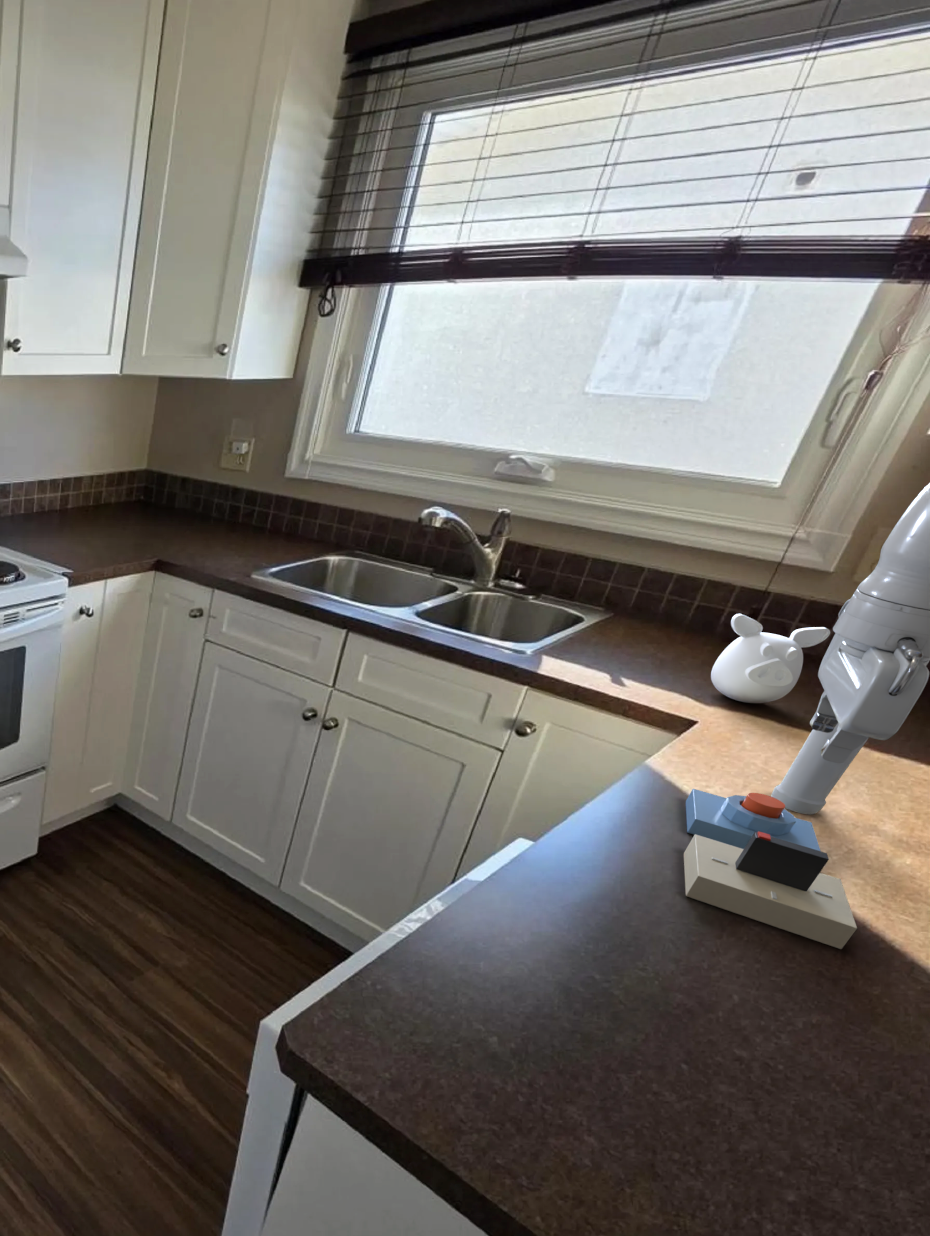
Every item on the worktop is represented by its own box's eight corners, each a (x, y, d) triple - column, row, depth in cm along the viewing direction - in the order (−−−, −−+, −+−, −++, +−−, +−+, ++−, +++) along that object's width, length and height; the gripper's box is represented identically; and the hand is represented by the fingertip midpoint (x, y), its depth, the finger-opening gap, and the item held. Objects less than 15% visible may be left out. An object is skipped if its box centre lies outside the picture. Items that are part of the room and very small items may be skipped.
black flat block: (804, 884, 91) (828, 851, 88) (806, 891, 89) (830, 857, 87) (734, 862, 94) (755, 829, 92) (735, 869, 93) (757, 835, 90)
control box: (826, 899, 93) (841, 877, 92) (841, 949, 86) (858, 927, 84) (683, 853, 100) (695, 832, 99) (685, 896, 93) (698, 874, 91)
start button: (776, 811, 103) (783, 799, 103) (779, 822, 101) (787, 811, 100) (739, 800, 105) (746, 789, 105) (741, 811, 103) (748, 800, 102)
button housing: (802, 835, 105) (819, 810, 103) (812, 871, 98) (831, 845, 96) (685, 801, 112) (699, 777, 110) (687, 832, 105) (702, 807, 103)
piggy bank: (726, 711, 139) (771, 630, 132) (683, 683, 150) (723, 607, 143) (807, 719, 138) (857, 638, 131) (757, 691, 148) (802, 614, 141)
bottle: (766, 802, 112) (870, 637, 101) (771, 790, 115) (874, 628, 104) (816, 819, 109) (931, 650, 97) (821, 807, 112) (932, 641, 100)
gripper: (972, 664, 73) (882, 791, 80) (923, 611, 87) (850, 723, 94) (875, 645, 77) (796, 768, 83) (843, 597, 91) (778, 706, 97)
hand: (824, 743), depth 89 cm, fingers open, 8 cm apart
